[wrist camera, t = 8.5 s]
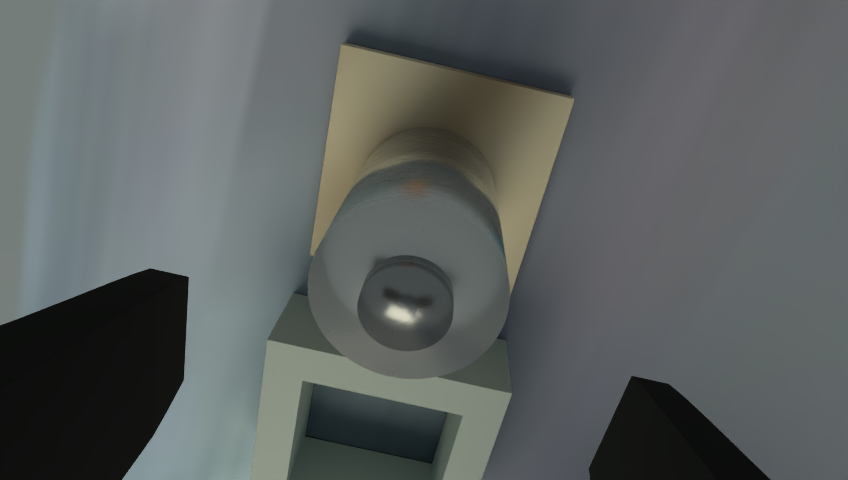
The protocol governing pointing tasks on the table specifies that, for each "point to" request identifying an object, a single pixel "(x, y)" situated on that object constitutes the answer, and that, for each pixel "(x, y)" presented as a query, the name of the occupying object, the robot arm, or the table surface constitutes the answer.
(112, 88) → the table surface
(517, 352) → the table surface
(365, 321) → the grey cylinder
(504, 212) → the coaster
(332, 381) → the housing
